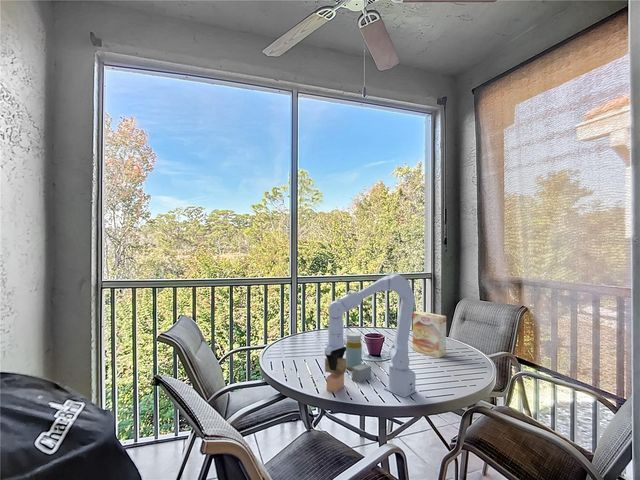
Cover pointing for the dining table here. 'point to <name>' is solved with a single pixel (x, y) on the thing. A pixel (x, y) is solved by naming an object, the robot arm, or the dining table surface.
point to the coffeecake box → (429, 333)
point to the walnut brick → (339, 368)
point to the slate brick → (361, 372)
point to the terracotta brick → (335, 382)
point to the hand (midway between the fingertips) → (335, 367)
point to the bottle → (353, 350)
